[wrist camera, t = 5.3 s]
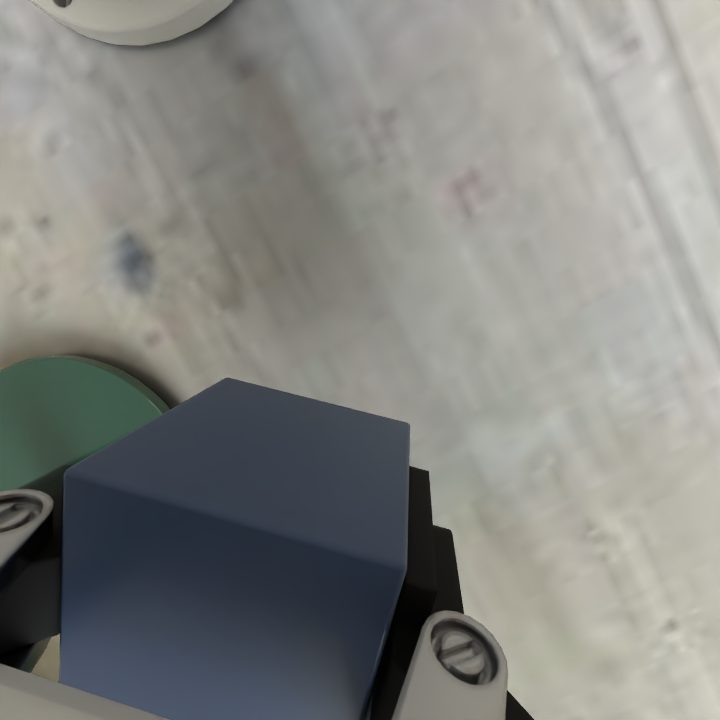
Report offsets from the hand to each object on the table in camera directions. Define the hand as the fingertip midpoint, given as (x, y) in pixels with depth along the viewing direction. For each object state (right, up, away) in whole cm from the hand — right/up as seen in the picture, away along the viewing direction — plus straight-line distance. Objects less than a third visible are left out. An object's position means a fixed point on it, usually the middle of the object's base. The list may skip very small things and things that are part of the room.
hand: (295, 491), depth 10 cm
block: (0, 0, 0) cm, 0 cm away
